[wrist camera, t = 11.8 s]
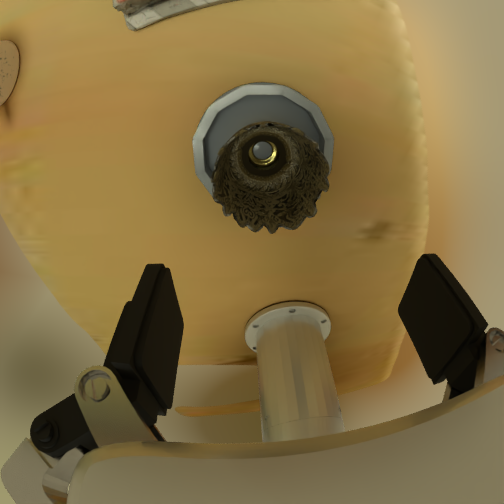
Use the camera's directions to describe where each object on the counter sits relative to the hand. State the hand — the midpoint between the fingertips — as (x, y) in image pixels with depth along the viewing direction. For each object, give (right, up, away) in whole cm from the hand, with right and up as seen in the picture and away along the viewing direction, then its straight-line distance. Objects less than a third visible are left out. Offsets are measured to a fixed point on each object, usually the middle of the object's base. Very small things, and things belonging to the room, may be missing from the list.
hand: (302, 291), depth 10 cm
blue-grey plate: (-1, +11, +14) cm, 18 cm away
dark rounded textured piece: (-1, +10, +13) cm, 17 cm away
